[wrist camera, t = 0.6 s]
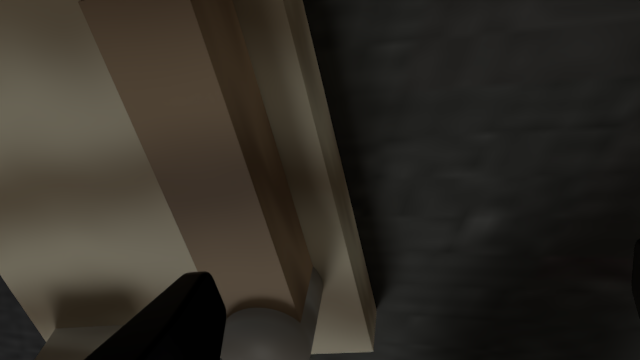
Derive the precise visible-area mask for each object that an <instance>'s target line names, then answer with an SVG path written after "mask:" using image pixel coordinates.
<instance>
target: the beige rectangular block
mask: <svg viewBox="0 0 640 360" xmlns="http://www.w3.org/2000/svg"><path fill="white" fill-rule="evenodd" d="M78 1H80V0H0V275H1V277H2V278H3V280H4V281H5V283H6V284H7V285H8V287H9V288H10V290H11V291H12V293H13V294H14V296H15V297H16V299H17V300H18V301H19V303H20V304H21V306H22V307H23V309H24V310H25V312H26V313H27V315H28V316H29V318H30V319H31V320H32V322H33V323H34V325H35V326H36V328H37V329H38V331H39V332H40V334H41V335H42V336H43V338H44V339H45V341H46V344H45V345H44V347H43V348H42V350H41V351H40V353H39V354H38V356H37V357H36V359H35V360H84V359H85V358H86V357H87V356H88V355H89V354H91V353H92V352H93V351H94V350H95V349H96V348H98V347H99V346H100V345H101V344H102V343H103V342H105V341H106V340H107V339H108V338H109V337H110V336H112V335H113V334H114V333H115V332H116V331H117V330H119V329H120V328H121V327H122V326H123V325H124V324H126V323H127V322H128V321H129V320H130V319H131V318H133V317H134V316H135V315H136V314H137V313H138V312H140V311H141V310H142V309H143V308H144V307H145V306H147V305H148V304H149V303H150V302H151V301H152V300H154V299H155V298H156V297H157V296H158V295H159V294H161V293H162V292H163V291H164V290H165V289H166V288H168V287H169V286H170V285H171V284H172V283H173V282H175V281H176V280H177V279H178V278H179V277H181V276H182V275H183V274H185V273H188V272H198V271H197V269H196V267H195V264H194V262H193V260H192V258H191V255H190V253H189V251H188V249H187V246H186V244H185V242H184V240H183V237H182V235H181V233H180V231H179V228H178V226H177V224H176V222H175V219H174V217H173V215H172V213H171V210H170V208H169V206H168V204H167V201H166V199H165V197H164V195H163V192H162V190H161V188H160V186H159V183H158V181H157V179H156V177H155V174H154V172H153V170H152V168H151V165H150V163H149V161H148V159H147V156H146V154H145V152H144V150H143V147H142V145H141V143H140V141H139V138H138V136H137V134H136V132H135V129H134V127H133V125H132V123H131V120H130V118H129V116H128V114H127V111H126V109H125V107H124V105H123V102H122V100H121V98H120V96H119V93H118V91H117V89H116V87H115V84H114V82H113V80H112V78H111V75H110V73H109V71H108V69H107V66H106V64H105V62H104V60H103V57H102V55H101V53H100V51H99V48H98V46H97V44H96V42H95V39H94V37H93V35H92V33H91V30H90V28H89V26H88V24H87V21H86V19H85V17H84V15H83V12H82V10H81V8H80V6H79V3H78ZM232 1H233V4H234V7H235V11H236V14H237V17H238V20H239V24H240V27H241V30H242V34H243V37H244V40H245V44H246V47H247V50H248V53H249V57H250V60H251V63H252V67H253V70H254V73H255V77H256V80H257V83H258V86H259V90H260V93H261V96H262V100H263V103H264V106H265V110H266V113H267V116H268V119H269V123H270V126H271V129H272V133H273V136H274V139H275V143H276V146H277V149H278V152H279V156H280V159H281V162H282V166H283V169H284V172H285V176H286V179H287V182H288V185H289V189H290V192H291V195H292V199H293V202H294V205H295V209H296V212H297V215H298V218H299V222H300V225H301V228H302V232H303V235H304V238H305V242H306V245H307V248H308V251H309V255H310V258H311V261H312V265H313V267H314V268H315V269H316V270H317V271H318V273H319V274H320V276H321V279H322V282H323V293H322V298H321V303H320V309H319V314H318V319H317V325H316V330H315V335H314V340H313V346H312V351H311V354H327V353H353V352H373V348H374V335H375V323H376V311H377V310H376V305H375V301H374V297H373V293H372V289H371V284H370V280H369V276H368V272H367V268H366V264H365V259H364V255H363V251H362V247H361V243H360V238H359V234H358V230H357V226H356V222H355V218H354V213H353V209H352V205H351V201H350V197H349V192H348V188H347V184H346V180H345V176H344V172H343V167H342V163H341V159H340V155H339V151H338V146H337V142H336V138H335V134H334V130H333V126H332V121H331V117H330V113H329V109H328V105H327V100H326V96H325V92H324V88H323V84H322V80H321V75H320V71H319V67H318V63H317V59H316V54H315V50H314V46H313V42H312V38H311V34H310V29H309V25H308V21H307V17H306V13H305V8H304V4H303V0H232ZM220 358H221V357H220Z"/></svg>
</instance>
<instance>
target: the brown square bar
mask: <svg viewBox="0 0 640 360" xmlns="http://www.w3.org/2000/svg"><path fill="white" fill-rule="evenodd" d="M78 3H79V6H80V8H81V10H82V12H83V15H84V17H85V19H86V21H87V24H88V26H89V28H90V30H91V33H92V35H93V37H94V39H95V42H96V44H97V46H98V48H99V51H100V53H101V55H102V57H103V60H104V62H105V64H106V66H107V69H108V71H109V73H110V75H111V78H112V80H113V82H114V84H115V87H116V89H117V91H118V93H119V96H120V98H121V100H122V102H123V105H124V107H125V109H126V111H127V114H128V116H129V118H130V120H131V123H132V125H133V127H134V129H135V132H136V134H137V136H138V138H139V141H140V143H141V145H142V147H143V150H144V152H145V154H146V156H147V159H148V161H149V163H150V165H151V168H152V170H153V172H154V174H155V177H156V179H157V181H158V183H159V186H160V188H161V190H162V192H163V195H164V197H165V199H166V201H167V204H168V206H169V208H170V210H171V213H172V215H173V217H174V219H175V222H176V224H177V226H178V228H179V231H180V233H181V235H182V237H183V240H184V242H185V244H186V246H187V249H188V251H189V253H190V255H191V258H192V260H193V262H194V264H195V267H196V269H197V271H198V272H200V271H206V272H209V273H210V274H211V275H212V277H213V279H214V281H215V283H216V286H217V288H218V290H219V293H220V295H221V297H222V300H223V302H224V305H225V308H226V325H225V331H224V338H223V344H222V350H221V356H220V357H221V358H222V360H310V356H311V351H312V346H313V340H314V335H315V330H316V325H317V319H318V314H319V309H320V303H321V298H322V293H323V282H322V279H321V276H320V274H319V273H318V271H317V270H316V269H315V268H314V267H313V265H312V261H311V258H310V255H309V251H308V248H307V245H306V242H305V238H304V235H303V232H302V228H301V225H300V222H299V218H298V215H297V212H296V209H295V205H294V202H293V199H292V195H291V192H290V189H289V185H288V182H287V179H286V176H285V172H284V169H283V166H282V162H281V159H280V156H279V152H278V149H277V146H276V143H275V139H274V136H273V133H272V129H271V126H270V123H269V119H268V116H267V113H266V110H265V106H264V103H263V100H262V96H261V93H260V90H259V86H258V83H257V80H256V77H255V73H254V70H253V67H252V63H251V60H250V57H249V53H248V50H247V47H246V44H245V40H244V37H243V34H242V30H241V27H240V24H239V20H238V17H237V14H236V11H235V7H234V4H233V1H232V0H80V1H78Z"/></svg>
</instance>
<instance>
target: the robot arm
mask: <svg viewBox="0 0 640 360" xmlns="http://www.w3.org/2000/svg"><path fill="white" fill-rule="evenodd" d="M632 291H633V297H634V300H635V304H636V307H637V311H638V314H639V318H640V239H639V240H637V241H636V244H635V248H634V259H633V272H632ZM225 325H226V308H225V305H224V302H223V300H222V297H221V295H220V293H219V290H218V288H217V286H216V283H215V281H214V279H213V277H212V275H211V274H210V273H209V272H206V271H200V272H188V273H185V274H183V275H182V276H181V277H179V278H178V279H177V280H176V281H175V282H173V283H172V284H171V285H170V286H169V287H168V288H166V289H165V290H164V291H163V292H162V293H161V294H159V295H158V296H157V297H156V298H155V299H154V300H152V301H151V302H150V303H149V304H148V305H147V306H145V307H144V308H143V309H142V310H141V311H140V312H138V313H137V314H136V315H135V316H134V317H133V318H131V319H130V320H129V321H128V322H127V323H126V324H124V325H123V326H122V327H121V328H120V329H119V330H117V331H116V332H115V333H114V334H113V335H112V336H110V337H109V338H108V339H107V340H106V341H105V342H103V343H102V344H101V345H100V346H99V347H98V348H96V349H95V350H94V351H93V352H92V353H91V354H89V355H88V356H87V357H86V358H85V359H84V360H220V356H221V350H222V344H223V338H224V331H225Z"/></svg>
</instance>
